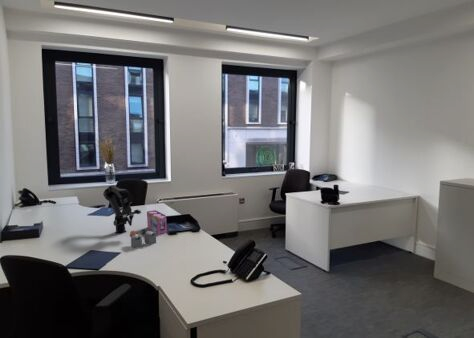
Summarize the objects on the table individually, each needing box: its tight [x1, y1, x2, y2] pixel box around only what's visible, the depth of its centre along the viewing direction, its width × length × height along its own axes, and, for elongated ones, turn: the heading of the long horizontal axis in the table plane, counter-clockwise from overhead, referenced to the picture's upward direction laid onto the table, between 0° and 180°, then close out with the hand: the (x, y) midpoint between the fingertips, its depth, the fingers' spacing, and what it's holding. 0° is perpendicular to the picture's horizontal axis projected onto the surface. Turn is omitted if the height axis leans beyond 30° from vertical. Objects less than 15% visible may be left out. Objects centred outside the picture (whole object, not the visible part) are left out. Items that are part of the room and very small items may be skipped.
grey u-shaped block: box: [143, 230, 157, 246], centre depth 261 cm, size 6×6×8 cm
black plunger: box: [141, 227, 154, 236], centre depth 262 cm, size 9×5×5 cm, turn 49°
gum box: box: [146, 209, 168, 235], centre depth 292 cm, size 24×8×14 cm, turn 34°
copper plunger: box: [129, 230, 139, 239], centre depth 255 cm, size 9×5×5 cm, turn 34°
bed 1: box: [130, 233, 143, 249], centre depth 254 cm, size 6×6×8 cm
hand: (130, 225), depth 273 cm, fingers closed
